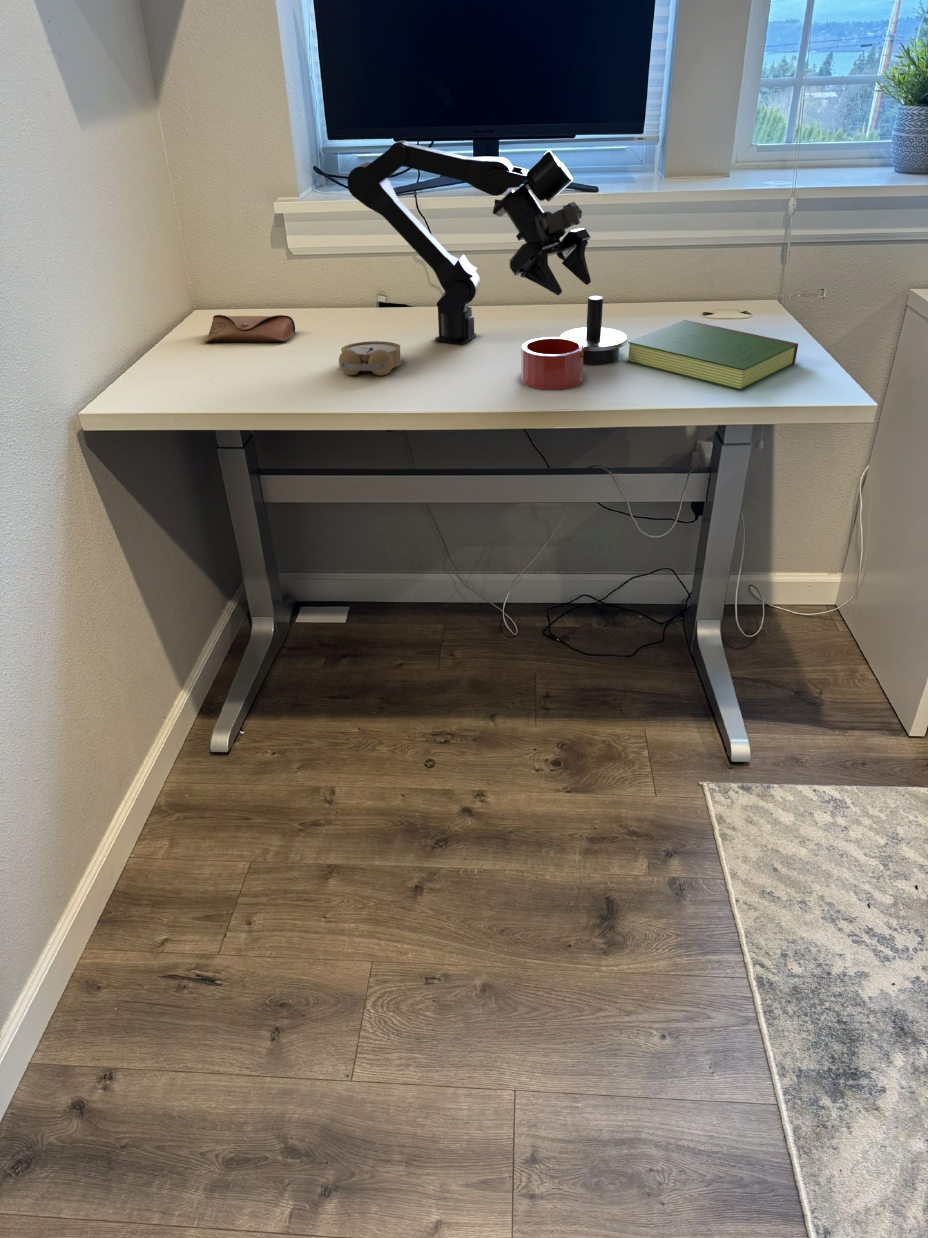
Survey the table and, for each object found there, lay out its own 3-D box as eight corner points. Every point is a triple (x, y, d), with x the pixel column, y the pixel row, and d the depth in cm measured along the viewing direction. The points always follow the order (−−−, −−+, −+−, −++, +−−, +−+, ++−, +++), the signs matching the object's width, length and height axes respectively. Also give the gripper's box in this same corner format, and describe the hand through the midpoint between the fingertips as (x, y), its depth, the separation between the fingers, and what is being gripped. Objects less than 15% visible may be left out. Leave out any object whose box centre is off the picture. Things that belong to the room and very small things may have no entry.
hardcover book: (794, 363, 161) (798, 343, 159) (740, 390, 150) (743, 369, 148) (679, 338, 176) (681, 319, 174) (623, 360, 166) (624, 340, 163)
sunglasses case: (202, 341, 182) (202, 309, 182) (214, 349, 189) (214, 318, 189) (286, 341, 181) (286, 308, 180) (295, 349, 188) (295, 318, 187)
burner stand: (558, 361, 167) (558, 345, 165) (577, 346, 174) (578, 330, 172) (607, 367, 163) (608, 351, 161) (625, 352, 170) (627, 336, 168)
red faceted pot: (511, 384, 156) (511, 351, 153) (536, 366, 164) (537, 334, 161) (568, 393, 152) (569, 359, 149) (591, 373, 160) (593, 341, 157)
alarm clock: (405, 341, 170) (390, 350, 157) (406, 367, 172) (391, 378, 159) (349, 340, 171) (329, 350, 158) (350, 366, 174) (331, 378, 160)
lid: (549, 346, 165) (550, 302, 160) (574, 328, 174) (576, 286, 169) (613, 354, 159) (616, 309, 155) (635, 335, 168) (639, 292, 164)
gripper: (522, 195, 152) (571, 270, 152) (584, 181, 164) (630, 250, 164) (488, 238, 161) (535, 309, 161) (549, 222, 172) (593, 288, 172)
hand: (574, 288), depth 164 cm, fingers open, 9 cm apart
